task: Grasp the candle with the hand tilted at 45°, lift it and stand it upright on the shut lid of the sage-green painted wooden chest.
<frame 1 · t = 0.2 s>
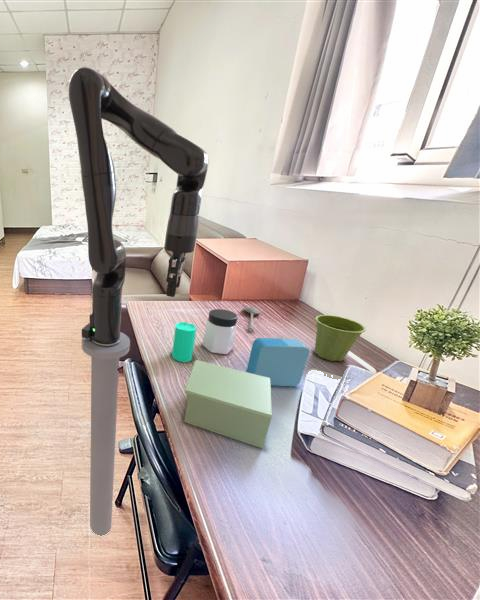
hand: (172, 291, 85), 22 cm above the table, tool pointing down, fingers open, 8 cm apart
candle: (181, 357, 96), on the table
plant pot: (328, 356, 96), on the table
jar: (217, 348, 101), on the table
chest lid: (228, 385, 69), point 8 cm above the table, hinge at 0.0°
chest: (224, 414, 72), on the table
data package: (271, 381, 84), on the table
soupspoon: (250, 320, 119), on the table
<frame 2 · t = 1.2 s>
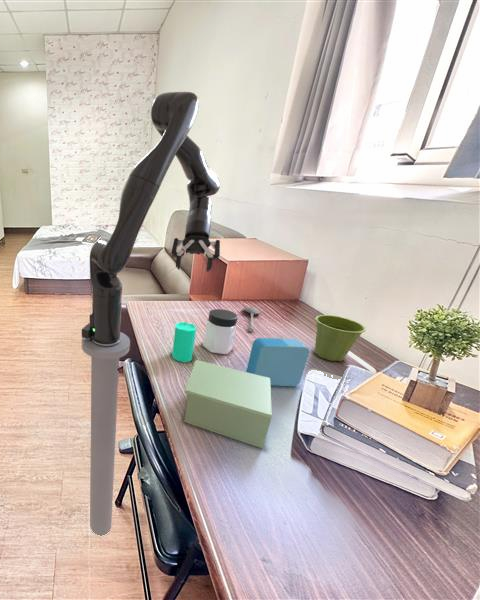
hand: (193, 269, 96), 25 cm above the table, tool tilted 45°, fingers open, 8 cm apart
nothing on the table moved.
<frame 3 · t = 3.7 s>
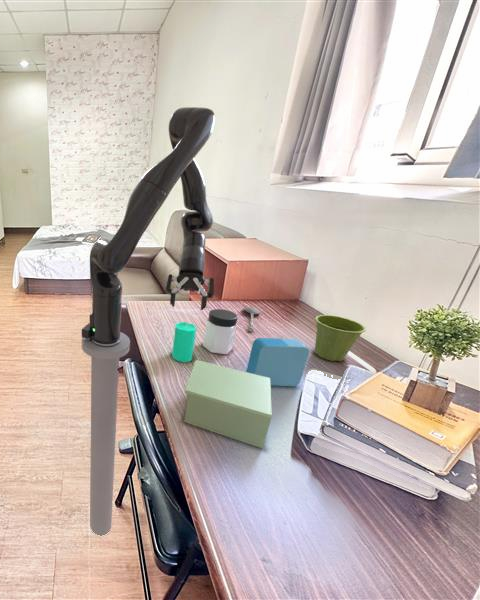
hand: (187, 307, 95), 14 cm above the table, tool tilted 45°, fingers open, 8 cm apart
nothing on the table moved.
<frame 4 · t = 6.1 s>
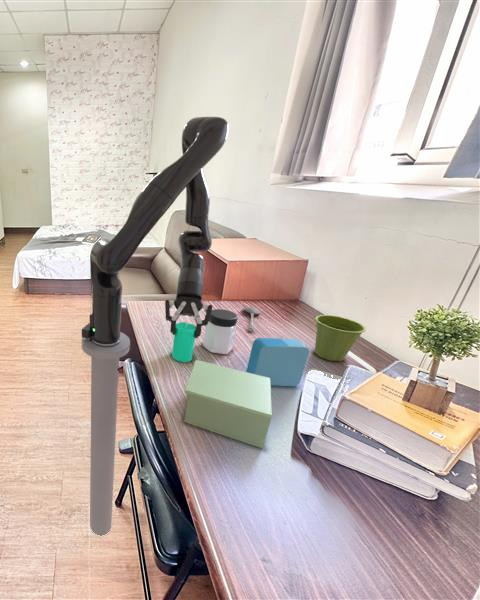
hand: (184, 335, 91), 8 cm above the table, tool tilted 45°, fingers closed on candle, 6 cm apart
candle: (181, 357, 96), on the table, touching gripper
everything else where it was.
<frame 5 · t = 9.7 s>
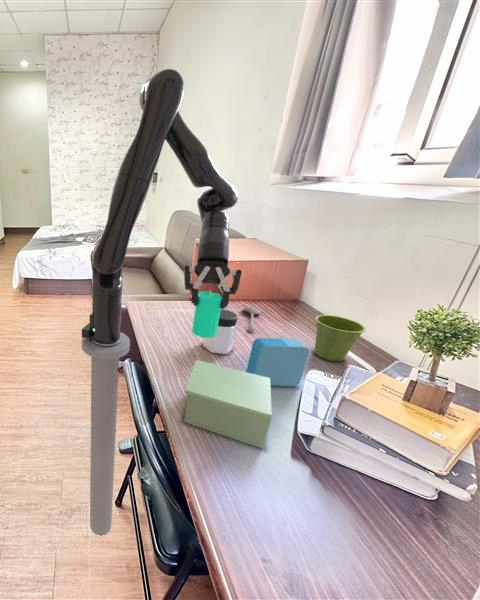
hand: (209, 305, 76), 22 cm above the table, tool tilted 45°, fingers closed on candle, 6 cm apart
candle: (203, 333, 81), point 14 cm above the table, touching gripper
everything else where it was.
when the fingers open (17 cm above the table, at t = 13.6 s): candle stays where it is, resting on chest lid.
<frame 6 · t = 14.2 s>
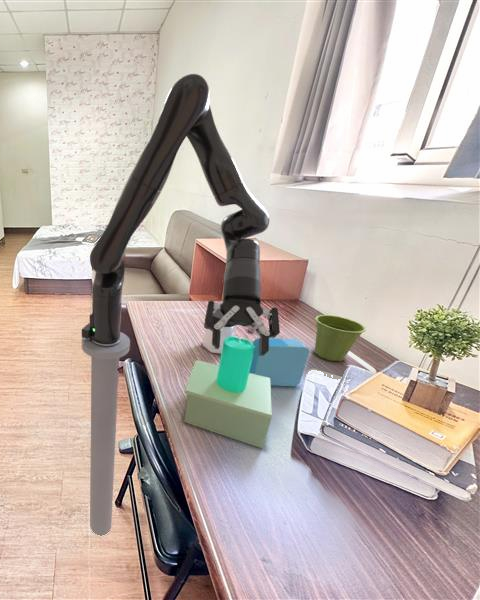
hand: (239, 351, 64), 18 cm above the table, tool tilted 45°, fingers open, 8 cm apart
candle: (230, 384, 69), point 8 cm above the table, touching chest lid
chest lid: (228, 385, 69), point 8 cm above the table, hinge at -0.2°, touching candle, chest
everything else where it was.
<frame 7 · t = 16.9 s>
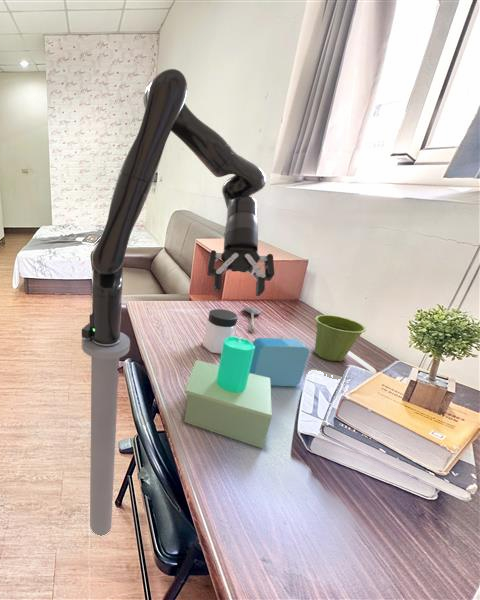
hand: (238, 292, 72), 27 cm above the table, tool tilted 45°, fingers open, 8 cm apart
nothing on the table moved.
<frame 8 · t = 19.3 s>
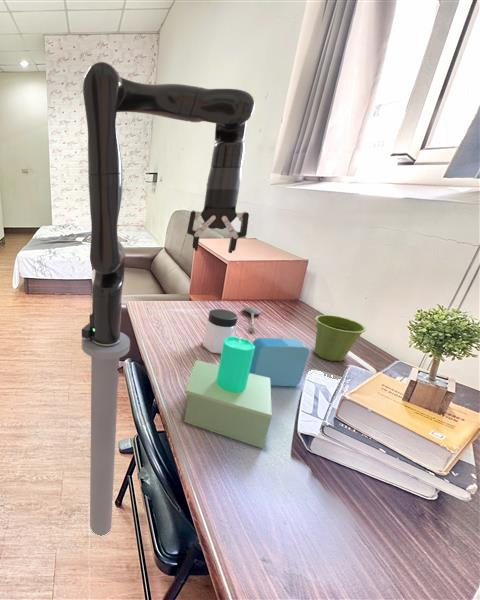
hand: (212, 251, 83), 33 cm above the table, tool pointing down, fingers open, 8 cm apart
nothing on the table moved.
at the end: candle inside the target area on the chest (0.2 cm from its centre), point 8.4 cm above the chest's base; candle tilted 0°; the gripper is holding nothing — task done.
